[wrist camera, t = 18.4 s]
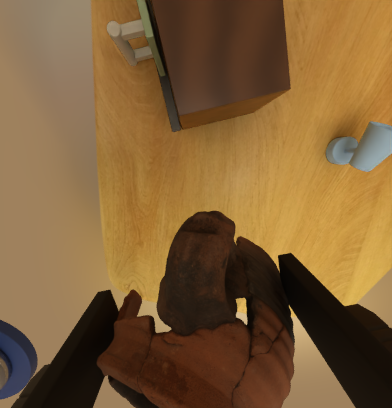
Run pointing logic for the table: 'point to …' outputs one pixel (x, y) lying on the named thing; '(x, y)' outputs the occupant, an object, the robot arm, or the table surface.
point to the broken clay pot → (206, 327)
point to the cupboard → (220, 57)
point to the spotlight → (362, 148)
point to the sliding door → (136, 30)
